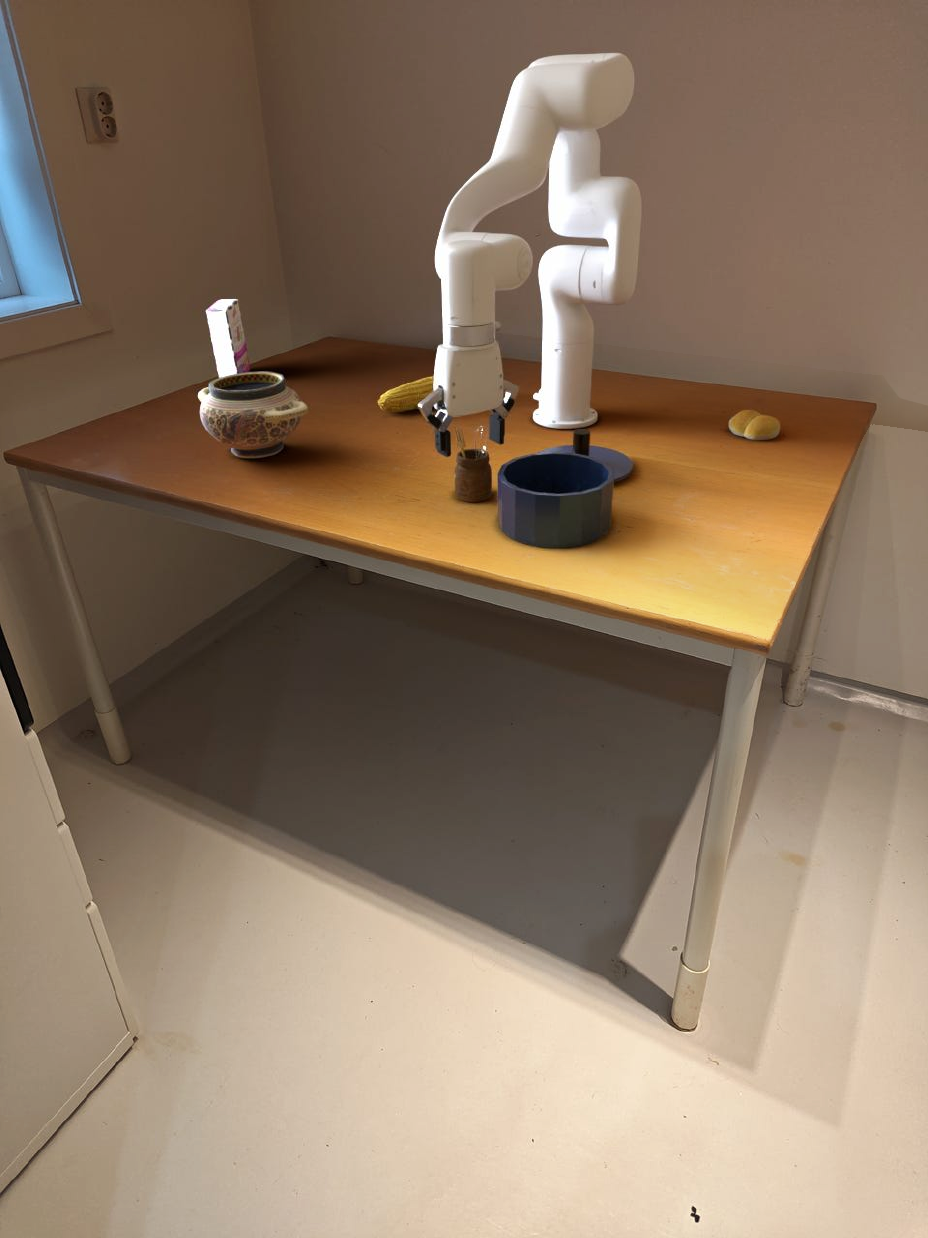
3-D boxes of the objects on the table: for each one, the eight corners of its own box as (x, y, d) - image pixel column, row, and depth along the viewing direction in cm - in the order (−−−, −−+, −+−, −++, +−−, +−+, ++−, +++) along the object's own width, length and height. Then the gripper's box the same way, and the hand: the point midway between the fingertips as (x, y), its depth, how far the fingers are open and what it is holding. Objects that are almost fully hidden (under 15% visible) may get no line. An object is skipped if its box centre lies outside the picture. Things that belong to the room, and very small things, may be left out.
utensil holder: (499, 494, 135) (499, 421, 129) (473, 507, 131) (471, 432, 125) (472, 485, 138) (471, 414, 132) (446, 497, 135) (443, 424, 128)
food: (456, 393, 182) (455, 365, 179) (472, 399, 178) (471, 370, 175) (373, 413, 171) (371, 384, 168) (389, 420, 167) (386, 391, 164)
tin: (477, 517, 128) (476, 467, 124) (563, 491, 135) (565, 444, 131) (542, 559, 116) (544, 505, 112) (633, 528, 123) (638, 477, 119)
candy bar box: (230, 370, 202) (218, 299, 194) (251, 369, 202) (239, 298, 194) (218, 383, 193) (204, 309, 184) (239, 383, 193) (227, 308, 184)
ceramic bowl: (332, 466, 155) (337, 383, 149) (255, 473, 141) (259, 381, 136) (245, 441, 168) (248, 364, 163) (167, 445, 154) (168, 360, 149)
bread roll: (763, 444, 151) (767, 423, 149) (721, 432, 157) (724, 411, 154) (788, 433, 155) (792, 412, 153) (746, 422, 161) (749, 401, 159)
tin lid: (508, 465, 146) (508, 427, 142) (587, 444, 153) (589, 408, 150) (571, 498, 133) (573, 458, 129) (654, 473, 141) (658, 435, 137)
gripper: (503, 322, 128) (503, 431, 137) (404, 337, 120) (410, 452, 129) (532, 330, 122) (530, 444, 131) (430, 347, 115) (434, 466, 123)
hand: (470, 448), depth 130 cm, fingers open, 9 cm apart
